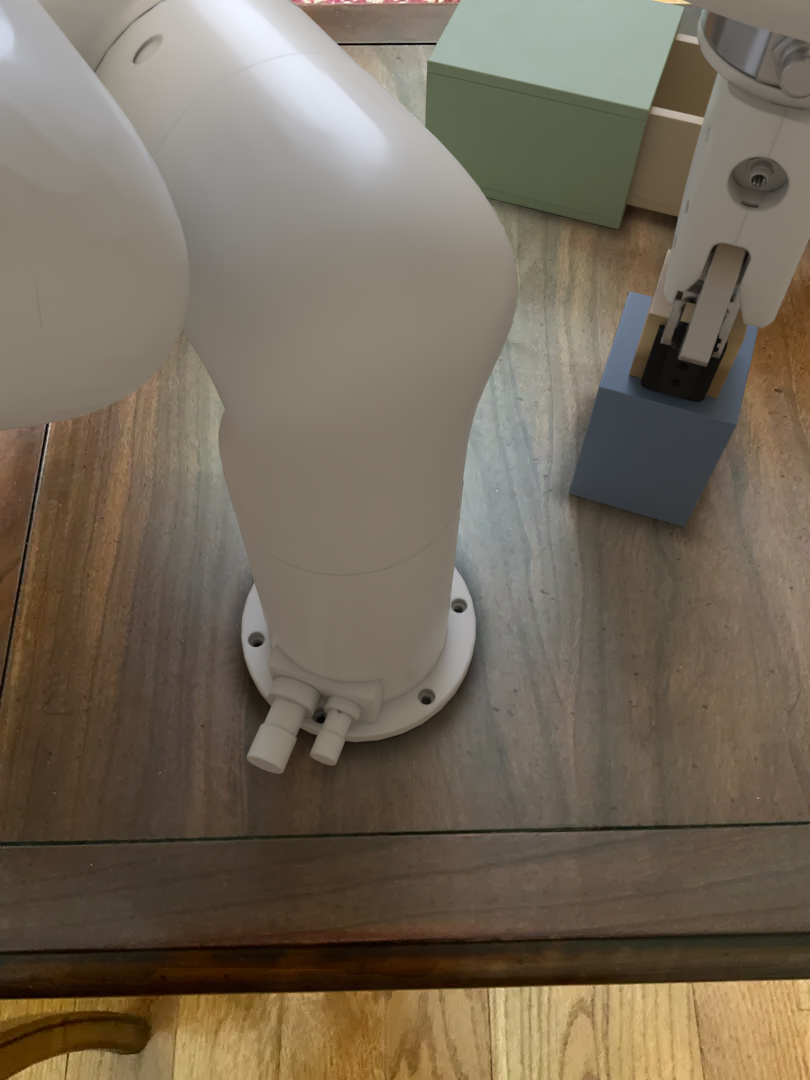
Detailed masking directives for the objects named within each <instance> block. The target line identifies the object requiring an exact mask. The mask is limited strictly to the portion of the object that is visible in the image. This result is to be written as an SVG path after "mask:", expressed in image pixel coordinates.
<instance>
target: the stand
mask: <svg viewBox="0 0 810 1080" xmlns="http://www.w3.org/2000/svg"><path fill="white" fill-rule="evenodd" d="M652 297H653V296H650V295H647V294H643V293H638V292H634V291H631V290H629V292H628V294H627V297H626V299H625V303H624V306H623V310H622V311H621V312H622V313H621V316H620V319H619V322H618V325H617V328H616V331H615V334H614V337H613V341H612V344H611V347H610V350H609V353H608V357H607V360H606V363H605V366H604V369H603V373H602V375H601V378H600V381H599V385H598V388H597V392H596V395H595V398H594V401H593V406H592V409H591V413H590V416H589V419H588V423H587V426H586V429H585V433H584V437H583V439H582V444H581V447H580V450H579V454H578V458H577V460H576V465H575V469H574V471H573V475H572V478H571V482H570V485H569V489H568V495H572V496H575V497H579V498H582V499H586V500H589V501H593V502H596V503H599V504H603V505H606V506H610V507H613V508H617V509H620V510H624V511H627V512H630V513H634V514H637V515H641V516H644V517H646V518H647V517H648V518H651V519H654V520H658V521H661V522H664V523H668V524H671V525H675V526H678V527H681V528H686V526H687V524H688V522H689V519H690V518H691V516H692V514H693V512H694V510H695V509H696V506H697V504H698V502H699V500H700V498H701V497H702V494H703V493H704V491H705V489H706V487H707V484H708V482H709V480H710V479H711V477H712V475H713V473H714V471H715V469H716V467H717V465H718V463H719V461H720V459H721V457H722V455H723V453H724V451H725V449H726V448H727V445H728V444H729V441H730V439H731V438H732V436H733V434H734V432H735V430H736V428H737V426H738V422H739V418H740V415H741V414H740V413H741V410H742V404H743V400H744V396H745V391H746V388H747V387H746V386H747V381H748V377H749V372H750V369H751V364H752V359H753V354H754V351H755V346H756V341H757V338H758V337H757V336H758V333H759V328H757V326H752V325H748V326H747V330H746V334H745V338H744V341H743V343H742V345H741V347H740V349H739V351H738V354H737V356H736V358H735V360H734V362H733V364H732V367H731V369H730V371H729V373H728V375H727V377H726V379H725V382H724V384H723V386H722V388H721V390H720V392H719V395H718V397H717V398H713V397H709V396H705V398H704V400H703V401H701V402H694V401H690V400H686V399H683V398H679V397H675V396H671V395H668V394H664V393H661V392H657V391H653V390H650V389H646V388H644V387H642V385H641V379H642V378H638V377H635V376H631V375H629V372H630V369H631V365H632V362H633V359H634V355H635V352H636V349H637V345H638V342H639V339H640V335H641V332H642V329H643V325H644V322H645V319H646V315H647V312H648V309H649V306H650V303H651V300H652Z"/></svg>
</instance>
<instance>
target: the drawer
mask: <svg viewBox="0 0 810 1080" xmlns="http://www.w3.org/2000/svg"><path fill="white" fill-rule="evenodd" d="M717 73H718V72H717V71H716V70H714V68H713V67H712V66H711V65H710V64H709V62H708V61H707V60H706V58H705V57H704V55H703V53H702V51H701V49H700V45H699V43H698V39H697V36H693V35H689V34H683V33H680V32H678V33H677V34H676V37H675V40H674V43H673V46H672V49H671V52H670V55H669V58H668V60H667V63H666V66H665V69H664V72H663V75H662V78H661V81H660V83H659V86H658V89H657V92H656V95H655V98H654V101H653V104H652V106H651V109H650V112H649V116H648V120H647V123H646V127H645V131H644V135H643V139H642V143H641V147H640V151H639V154H638V158H637V162H636V166H635V170H634V174H633V178H632V181H631V185H630V189H629V193H628V197H627V201H626V204H627V206H633V207H636V208H640V209H644V210H649V211H652V212H656V213H661V214H665V215H669V216H673V217H677V218H678V216H679V212H680V208H681V203H682V199H683V195H684V191H685V186H686V182H687V178H688V175H689V171H690V167H691V163H692V159H693V156H694V152H695V148H696V145H697V141H698V137H699V134H700V130H701V127H702V123H703V120H704V116H705V113H706V110H707V106H708V103H709V99H710V96H711V93H712V90H713V86H714V83H715V80H716V77H717Z"/></svg>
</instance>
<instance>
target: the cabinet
mask: <svg viewBox="0 0 810 1080" xmlns="http://www.w3.org/2000/svg"><path fill="white" fill-rule="evenodd" d="M685 9H686V7H685V6H682V5H678V4H672V3H668V2H663V1H658V0H459V2H458V4H457V6H456V7H455V9H454V11H453V13H452V15H451V16H450V18H449V19H448V22H447V24H446V26H445V27H444V29H443V31H442V32H441V35H440V37H439V38H438V40H437V42H436V44H435V46H434V47H433V50H432V51H431V53H430V55H429V57H428V59H427V61H426V84H425V113H424V114H425V119H424V126H425V127H426V128H427V129H428V130H429V131H430V132H431V133H432V134H433V135H434V136H435V137H436V138H437V139H438V140H439V141H440V142H441V143H442V144H443V145H444V146H445V147H446V149H447V150H448V151H449V152H450V153H451V154H452V155H453V156H454V157H455V158H456V159H457V160H458V162H459V163H460V164H461V165H462V166H463V168H464V169H465V170H466V171H467V173H468V174H469V175H470V176H471V178H472V179H473V180H474V181H475V182H476V184H477V185H478V186H479V188H480V189H481V191H482V192H483V194H484V195H485V197H486V198H487V199H493V200H496V201H500V202H504V203H508V204H512V205H517V206H521V207H525V208H528V209H533V210H537V211H540V212H545V213H548V214H549V213H550V214H553V215H557V216H561V217H566V218H570V219H573V220H576V221H577V220H578V221H582V222H586V223H590V224H594V225H598V226H601V227H602V226H603V227H606V228H610V229H615V230H619V229H620V226H621V223H622V220H623V217H624V214H625V212H626V209H627V206H628V205H627V204H626V201H627V197H628V193H629V189H630V185H631V181H632V178H633V174H634V170H635V166H636V162H637V158H638V154H639V151H640V147H641V143H642V139H643V135H644V131H645V127H646V123H647V120H648V116H649V112H650V109H651V106H652V104H653V101H654V98H655V95H656V92H657V89H658V86H659V83H660V81H661V78H662V75H663V72H664V69H665V66H666V63H667V60H668V58H669V55H670V52H671V49H672V46H673V43H674V40H675V37H676V34H677V33H680V29H681V25H682V21H683V17H684V13H685Z"/></svg>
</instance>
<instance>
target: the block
mask: <svg viewBox="0 0 810 1080" xmlns="http://www.w3.org/2000/svg"><path fill="white" fill-rule="evenodd" d="M671 250H672V248H671V249H670V248H668V249H667V251H666V254H665V257H664V260H663V263H662V266H661V269H660V272H659V275H658V278H657V281H656V284H655V288H654V291H653V294H652V296H651V297H652V300H651V303H650V306H649V309H648V312H647V315H646V319H645V322H644V325H643V329H642V332H641V335H640V339H639V342H638V345H637V349H636V352H635V355H634V359H633V362H632V365H631V369H630V372H629V375H631V376H635V377H638V378H642V375H643V372H644V369H645V366H646V363H647V360H648V358H649V355H650V352H651V349H652V346H653V343H654V340H655V337H656V334H657V331H658V328H659V326H660V325H664V326H666V323H667V320H668V317H669V314H670V311H671V308H672V305H671V304H670V303H669V302H668V301H667V299H666V297H665V295H664V293H663V290H664V285H665V280H666V274H667V269H668V264H669V259H670V255H671ZM699 280H704V277H701V278H700V279H699ZM736 286H737V285H735V288H736ZM694 307H695V304H693V303H689V302H687V303H686V306H685V309H684V312H683V314H682V317H681V320H680V321H683V322H687V323H689V322H690V319H691V316H692V313H693V310H694ZM747 326H748V325H747V324H744V323H743V319H742V312H741V308H740V309H739V311H738V313H737V316H736V318H735V321H734V323H733V326H732V328H731V331H730V333H729V336H728V339H727V341H726V342H728V344H727V348H726V351H725V353H724V356H723V358H722V360H721V362H720V365H719V367H718V369H717V371H716V374H715V376H714V378H713V380H712V383H711V385H710V387H709V389H708V392H707V394H706V396H709V397H713V398H717V397H718V395H719V392H720V390H721V388H722V386H723V384H724V382H725V379H726V377H727V375H728V373H729V371H730V369H731V367H732V364H733V362H734V360H735V358H736V356H737V354H738V351H739V349H740V347H741V345H742V343H743V341H744V338H745V334H746V330H747Z"/></svg>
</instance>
